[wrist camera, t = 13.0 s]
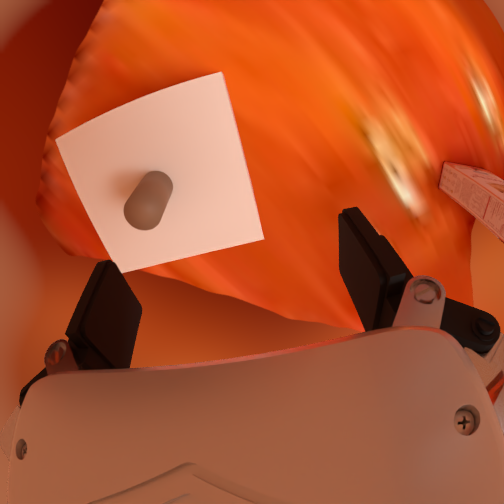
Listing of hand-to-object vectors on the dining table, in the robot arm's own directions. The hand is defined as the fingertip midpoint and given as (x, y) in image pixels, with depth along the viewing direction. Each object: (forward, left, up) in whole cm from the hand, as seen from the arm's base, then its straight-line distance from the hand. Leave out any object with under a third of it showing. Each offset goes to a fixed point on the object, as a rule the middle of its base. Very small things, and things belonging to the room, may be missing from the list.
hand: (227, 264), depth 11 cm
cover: (+2, -8, -30) cm, 32 cm away
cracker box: (+15, +43, -31) cm, 55 cm away
